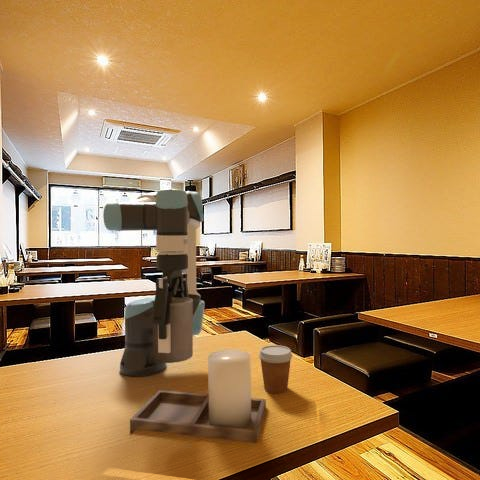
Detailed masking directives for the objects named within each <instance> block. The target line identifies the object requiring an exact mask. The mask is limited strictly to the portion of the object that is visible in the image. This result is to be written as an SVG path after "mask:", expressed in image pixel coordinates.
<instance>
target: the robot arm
mask: <svg viewBox="0 0 480 480" xmlns="http://www.w3.org/2000/svg"><path fill="white" fill-rule="evenodd" d="M202 200H203V199H202V196H201V194H200V193H199V192H198V191H190V190H187V191H185V190H183V189H177V188H164V189H163V188H161V189H159V190H157V191H154V192H150V193H145V194H143V195H140V196H138V197H137V198H136V199H134V200H131V201H126V202H119V201H117V202H108V203H106V204H105V206H104V208H103V212H102V213H103V216H102V217H103V223H104V227H105V229H107V230H108V231H113V232H115V231H116V232H121V231H122V232H124V231H129V232H130V231H131V232H132V231H156V238H155V239H156V240H155V244H156V245H155V246H156V247H155V248H156V249H155V251H156V253H158V254H157V255H156V269H157V270H158V271H162V276H161V278H156V279H155V295H154V297H153V296H152V297H145V298H140V299H136V300H133V301H130V302H129V303H127V304H126V306H125V309H124V316H123V317H124V349H123V352H122V357H121V359H120V362H119V363H120V364H119V372H120V373H121V374H122V375H124V376H126V377H127V376H128V377H146V376H150V375H151V376H152V375H155V374H157V373H161V371H163V370H165V369H166V367H167V363H163V362H158V361H155V360H154V359H153V324H158V353H170V352H171V335H170V324H168V322H169V317H170V303H172V301H173V297H179V298H183V297H188V298H191V299H192V300H193V336H198V335H200V333H201V332H202V329H203V323H204V322H203V321H204V315H205V313H204V312H205V306H206V305H205V302H206V301H204V300H202V299H201V294H200V293H198V291H197V230H198V229H199V228H200V226H201V223H202V222H204V220H205V218H204V217H205V216H204V209H203V208H204V207H203V201H202ZM154 300H155V304H154V313H153V301H154Z"/></svg>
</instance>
